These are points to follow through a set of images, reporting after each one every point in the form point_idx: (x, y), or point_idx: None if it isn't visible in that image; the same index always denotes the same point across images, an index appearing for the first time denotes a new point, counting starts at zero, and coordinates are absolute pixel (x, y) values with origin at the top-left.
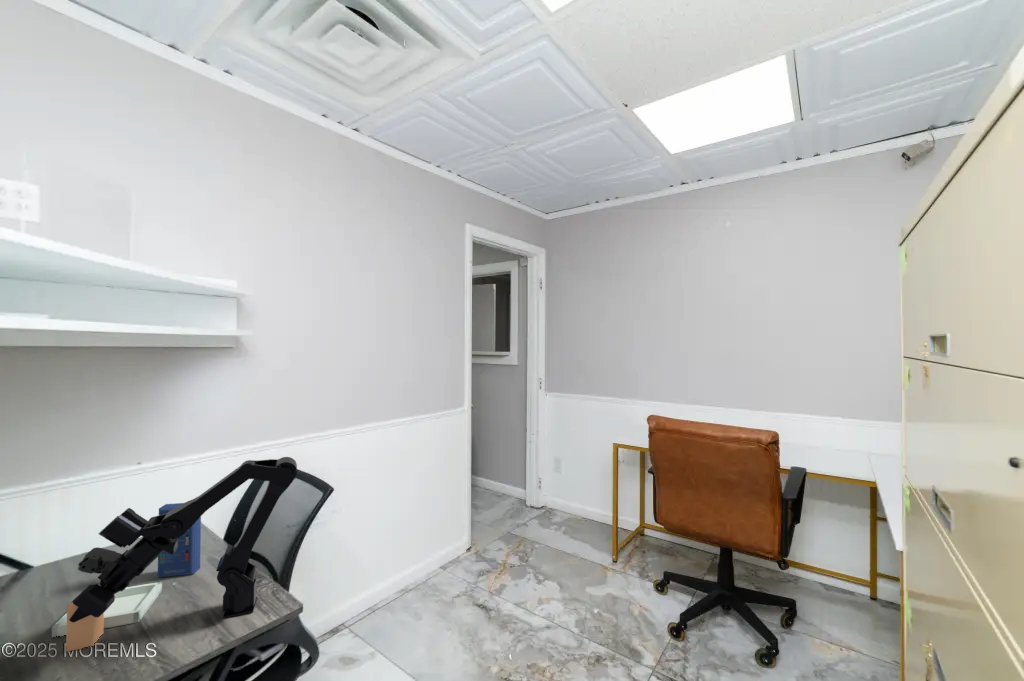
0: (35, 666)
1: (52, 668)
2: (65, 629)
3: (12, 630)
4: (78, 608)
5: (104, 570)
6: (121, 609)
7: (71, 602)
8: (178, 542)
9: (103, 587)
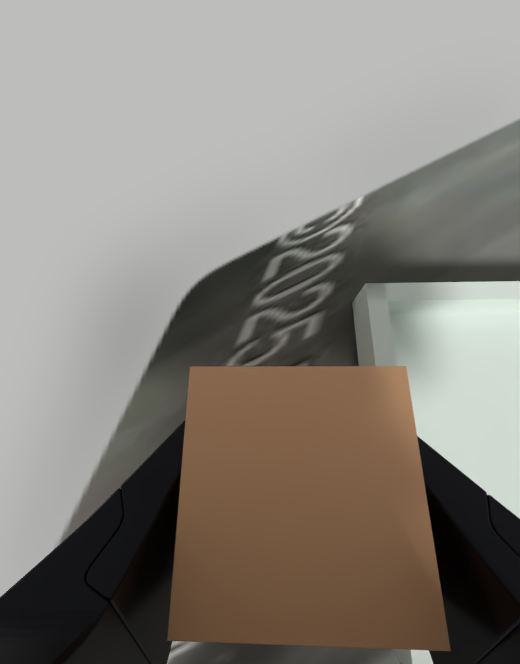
0: (188, 340)
1: (148, 402)
2: (363, 333)
3: (431, 170)
4: (118, 496)
5: None
6: (513, 493)
7: (252, 372)
8: None
9: (508, 652)
